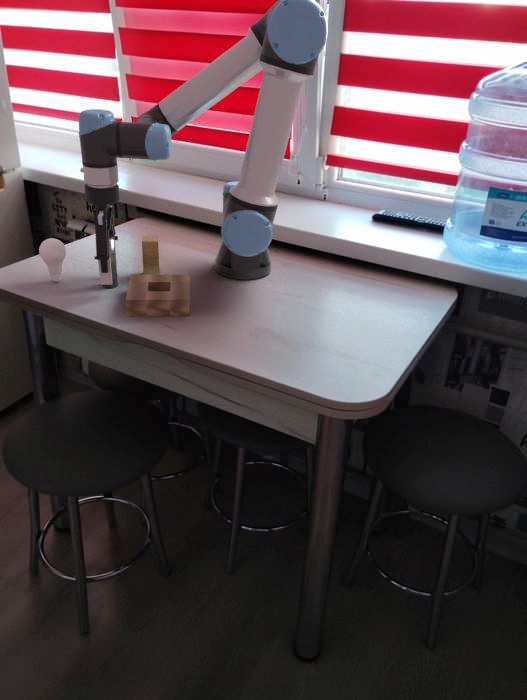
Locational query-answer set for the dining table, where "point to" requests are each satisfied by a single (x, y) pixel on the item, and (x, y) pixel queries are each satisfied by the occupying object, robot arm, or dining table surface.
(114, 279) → the cylinder
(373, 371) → the dining table surface
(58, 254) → the lightbulb
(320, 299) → the dining table surface
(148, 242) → the square bit
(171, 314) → the socket block
